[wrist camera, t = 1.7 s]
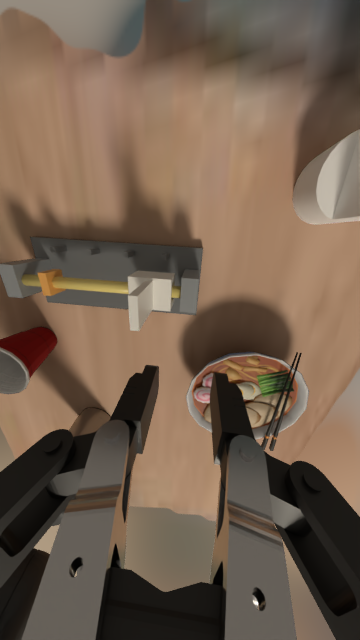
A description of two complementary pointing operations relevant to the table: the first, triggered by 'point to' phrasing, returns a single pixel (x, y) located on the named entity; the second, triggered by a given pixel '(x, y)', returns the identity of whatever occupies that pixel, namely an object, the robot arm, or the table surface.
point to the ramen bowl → (254, 392)
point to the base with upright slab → (331, 185)
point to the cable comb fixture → (101, 272)
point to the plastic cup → (23, 357)
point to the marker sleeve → (148, 295)
